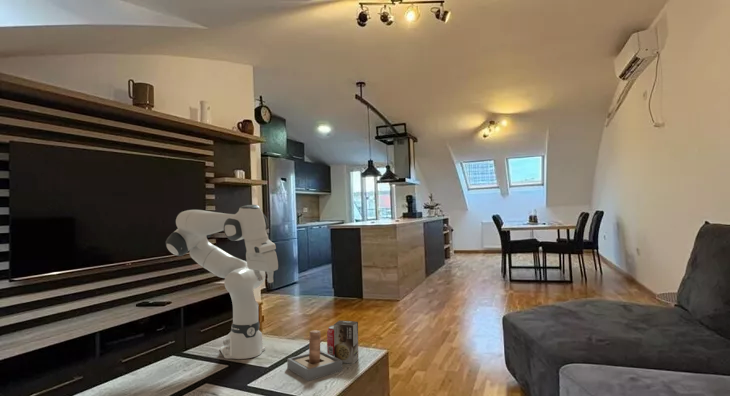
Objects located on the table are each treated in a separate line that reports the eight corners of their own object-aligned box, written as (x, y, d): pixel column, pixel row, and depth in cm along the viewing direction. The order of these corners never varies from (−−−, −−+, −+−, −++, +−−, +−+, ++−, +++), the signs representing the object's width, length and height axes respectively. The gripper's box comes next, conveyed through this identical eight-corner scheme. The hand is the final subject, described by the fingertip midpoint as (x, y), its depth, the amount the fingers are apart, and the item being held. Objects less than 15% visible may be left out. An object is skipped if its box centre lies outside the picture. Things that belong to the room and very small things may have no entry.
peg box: (287, 368, 165) (287, 358, 166) (320, 359, 175) (320, 350, 176) (307, 380, 153) (307, 370, 153) (342, 370, 163) (342, 360, 163)
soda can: (343, 351, 186) (343, 325, 186) (341, 356, 179) (341, 329, 179) (328, 351, 187) (328, 324, 187) (325, 356, 180) (325, 328, 180)
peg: (306, 366, 165) (307, 331, 165) (316, 364, 167) (316, 329, 168) (312, 369, 161) (313, 334, 162) (322, 367, 164) (322, 332, 164)
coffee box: (358, 359, 176) (358, 321, 177) (353, 364, 170) (353, 325, 171) (339, 356, 179) (339, 319, 180) (333, 361, 173) (333, 323, 173)
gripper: (239, 248, 161) (246, 281, 162) (262, 248, 146) (269, 286, 146) (254, 244, 165) (260, 277, 166) (277, 244, 150) (285, 280, 150)
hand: (265, 281), depth 156 cm, fingers open, 8 cm apart
